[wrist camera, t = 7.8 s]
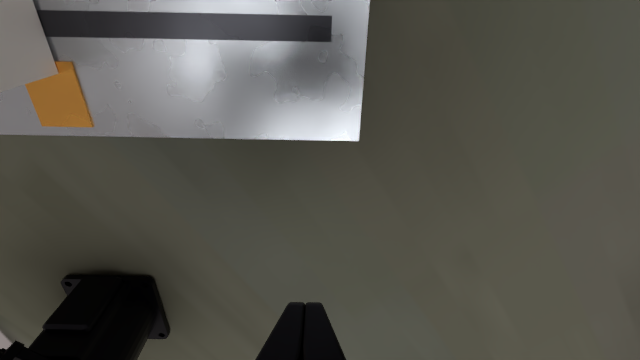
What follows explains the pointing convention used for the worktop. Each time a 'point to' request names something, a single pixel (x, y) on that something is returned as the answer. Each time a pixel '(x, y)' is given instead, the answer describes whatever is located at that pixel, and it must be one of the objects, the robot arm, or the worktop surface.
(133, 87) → the console
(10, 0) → the fader tab
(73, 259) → the worktop surface
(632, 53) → the worktop surface
